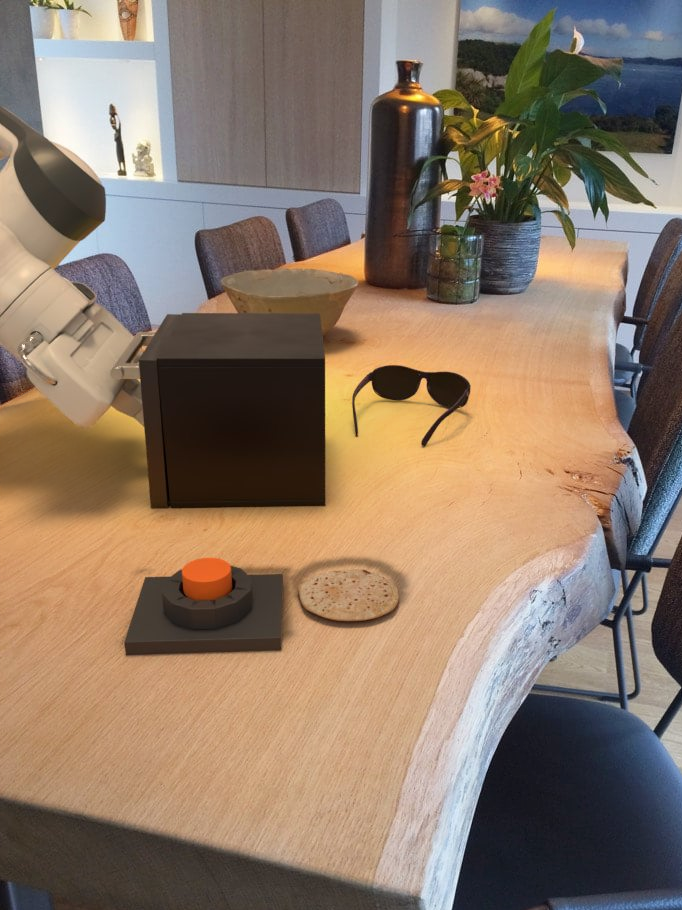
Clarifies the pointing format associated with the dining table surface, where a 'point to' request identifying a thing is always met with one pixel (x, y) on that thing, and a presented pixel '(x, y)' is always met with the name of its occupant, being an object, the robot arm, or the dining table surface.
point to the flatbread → (349, 595)
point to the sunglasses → (405, 384)
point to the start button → (207, 579)
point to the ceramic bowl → (291, 292)
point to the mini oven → (244, 410)
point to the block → (207, 617)
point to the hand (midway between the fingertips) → (154, 419)
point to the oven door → (150, 402)
